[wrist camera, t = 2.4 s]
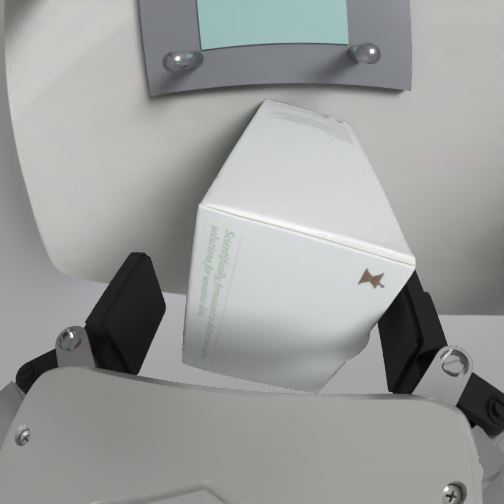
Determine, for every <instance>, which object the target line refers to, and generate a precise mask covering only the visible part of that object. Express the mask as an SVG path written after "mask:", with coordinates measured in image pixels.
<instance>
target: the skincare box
mask: <svg viewBox="0 0 504 504" xmlns="http://www.w3.org/2000/svg"><path fill="white" fill-rule="evenodd" d="M414 270H415V257H414V255H413V254H412V252H411V250H410V249H409V247H408V245H407V243H406V241H405V239H404V236H403V234H402V232H401V229H400V227H399V225H398V223H397V220H396V218H395V216H394V214H393V211H392V209H391V207H390V204H389V202H388V200H387V198H386V196H385V193H384V191H383V189H382V187H381V185H380V183H379V181H378V179H377V177H376V175H375V173H374V171H373V169H372V167H371V165H370V163H369V161H368V159H367V157H366V155H365V153H364V151H363V149H362V148H361V146H360V144H359V142H358V140H357V138H356V136H355V135H354V133H353V131H352V129H351V127H350V125H349V124H348V123H346V122H344V121H341V120H338V119H335V118H332V117H329V116H326V115H323V114H320V113H317V112H313V111H310V110H306V109H303V108H300V107H296V106H293V105H289V104H285V103H281V102H277V101H273V100H269V99H265V100H264V101H263V103H262V104H261V106H260V108H259V109H258V111H257V112H256V114H255V115H254V117H253V118H252V120H251V122H250V123H249V125H248V126H247V128H246V129H245V131H244V132H243V134H242V136H241V137H240V139H239V140H238V142H237V143H236V145H235V147H234V148H233V150H232V152H231V153H230V155H229V156H228V158H227V160H226V161H225V163H224V165H223V166H222V168H221V170H220V171H219V173H218V175H217V177H216V179H215V180H214V181H213V183H212V184H211V186H210V188H209V189H208V191H207V193H206V194H205V196H204V198H203V199H202V201H201V203H200V204H199V205H198V209H197V217H196V224H195V231H194V238H193V245H192V253H191V262H190V270H189V280H188V289H187V299H186V308H185V320H184V332H183V348H182V351H183V352H182V362H183V363H184V364H186V365H189V366H192V367H196V368H199V369H202V370H206V371H210V372H213V373H218V374H222V375H227V376H231V377H235V378H240V379H245V380H249V381H254V382H259V383H264V384H269V385H274V386H279V387H284V388H289V389H294V390H300V391H305V392H312V393H318V392H319V391H320V390H321V389H322V388H323V387H324V386H325V384H326V383H327V382H328V381H329V380H330V379H331V378H332V377H333V376H334V375H335V374H336V373H337V371H338V370H339V369H340V368H341V367H342V365H344V363H345V362H346V361H347V360H349V359H351V358H353V357H355V356H356V355H358V354H359V353H360V352H361V351H362V350H363V349H364V348H365V346H366V345H367V343H368V341H369V337H370V331H371V330H372V328H373V327H374V326H375V325H376V323H377V322H378V321H379V319H380V318H381V317H382V315H383V314H384V313H385V311H386V310H387V308H388V307H389V306H390V304H391V303H392V301H393V300H394V299H395V297H396V296H397V295H398V293H399V292H400V290H401V289H402V288H403V286H404V285H405V283H406V282H407V281H408V279H409V278H410V276H411V275H412V273H413V272H414Z"/></svg>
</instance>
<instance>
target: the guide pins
mask: <svg viewBox="0 0 504 504" xmlns="http://www.w3.org/2000/svg"><path fill="white" fill-rule="evenodd" d="M348 53H349V57H350V58H351V59H352V60H353V61H355V62H360V63H367V64H375V63H377V62H378V61H379V60H380V57H381V52H380V50H379V48H378V47H377V46H376V45H374V44H372V43H364V44H358V45H354V46H352V47H350V49H349V52H348ZM203 60H204V58H203V55H202V54H201V53H200V52H198V51H183V52H170V53H168V54H166V55H165V56H164V58H163V61H162V64H163V67H164V69H165V70H167V71H169V72H174V71H179V70H184V69H189V68H195V67H199V66H200V65H201V64H202V63H203Z"/></svg>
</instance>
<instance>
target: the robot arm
mask: <svg viewBox="0 0 504 504" xmlns="http://www.w3.org/2000/svg"><path fill="white" fill-rule="evenodd" d="M165 305H166V304H165V301H164V298H163V295H162V292H161V289H160V286H159V283H158V280H157V277H156V274H155V271H154V268H153V264H152V261H151V258H150V257H149V256H147V255H146V253H143V252H132V253H131V254H130V255H129V256H128V258H127V259H126V260H125V262H124V263H123V265H122V266H121V268H120V269H119V271H118V272H117V273H116V275H115V276H114V278H113V279H112V281H111V282H110V284H109V286H108V287H107V289H106V290H105V291H104V293H103V295H102V296H101V298H100V299H99V301H98V303H97V304H96V306H95V307H94V309H93V310H92V312H91V314H90V315H89V317H88V318H87V320H86V321H85V323H86V326H85V327H84V328H83V327H80V326H72V327H68V328H67V329H65V330H64V331H62V332H61V333H60V334H59V336H58V337H57V340H56V345H55V347H56V348H55V349H54V350H51V351H49V352H47V353H46V354H43V355H41V356H39V357H37V358H35V359H33V360H31V361H29V362H27V363H26V364H24V365H23V366H22V367H21V368H20V369H19V371H18V372H17V375H16V382H15V383H14V382H13V381H11V382H10V383H9V384H8V385H7V386H5V387H4V388H3V389H2V390H1V391H0V504H504V393H502V392H501V391H499V390H498V389H496V388H495V387H494V386H492V385H490V384H489V383H488V382H486V381H485V380H483V379H482V378H480V377H479V376H477V375H476V374H475V373H473V372H472V369H473V362H472V360H471V357H470V356H469V354H468V353H467V352H466V351H465V350H463V349H462V348H459V347H457V346H448V345H447V342H446V339H445V336H444V332H443V329H442V326H441V324H440V321H439V318H438V315H437V312H436V310H435V307H434V304H433V301H432V299H431V296H430V294H429V293H428V292H424V291H423V288H422V286H421V283H420V280H419V278H418V275H417V273H416V270H414V272H413V273H412V275H411V276H410V278H409V279H408V281H407V282H406V283H405V285H404V286H403V288H402V289H401V290H400V292H399V293H398V295H397V296H396V297H395V299H394V300H393V301H392V303H391V304H390V306H389V307H388V308H387V310H386V311H385V313H384V314H383V315H382V317H381V318H380V319H379V321H378V322H377V323H378V328H379V334H380V339H381V345H382V351H383V358H384V364H385V371H386V377H387V385H388V391H389V392H393V394H293V393H292V394H291V393H273V392H258V391H246V390H235V389H225V388H215V387H208V386H200V385H192V384H185V383H178V382H172V381H165V380H159V379H153V378H148V377H142V376H137V374H138V373H139V371H140V369H141V366H142V364H143V362H144V359H145V357H146V354H147V352H148V350H149V347H150V345H151V342H152V340H153V338H154V336H155V334H156V331H157V329H158V327H159V324H160V322H161V320H162V318H163V315H164V313H165V310H166V306H165ZM478 456H479V458H478ZM479 462H480V464H481V465H482V467H483V472H484V476H483V479H482V481H481V472H480V465H479Z"/></svg>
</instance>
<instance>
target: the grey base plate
mask: <svg viewBox="0 0 504 504" xmlns="http://www.w3.org/2000/svg"><path fill="white" fill-rule="evenodd" d="M139 7H140V17H141V27H142V36H143V45H144V53H145V61H146V68H147V76H148V83H149V89H150V96H155V95H160V94H167V93H173V92H180V91H187V90H195V89H203V88H212V87H223V86H235V85H249V84H271V83H326V84H347V85H362V86H374V87H384V88H393V89H401V90H408V91H411V78H412V43H411V18H410V3H409V0H139ZM364 43H372V44H374V45H376V46H377V47H378V48H379V50H380V52H381V57H380V60H379V61H378V62H377V63H375V64H367V63H360V62H355V61H353V60H352V59H351V58H350V57H349V53H348V52H349V49H350V47H352V46H354V45H358V44H364ZM183 51H198V52H200V53H201V54H202V55H203V58H204V60H203V63H202V64H201V65H200V66H199V67H195V68H189V69H184V70H179V71H174V72H169V71H167V70H165V69H164V67H163V64H162V61H163V58H164V56H165V55H166V54H168V53H170V52H183Z"/></svg>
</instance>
